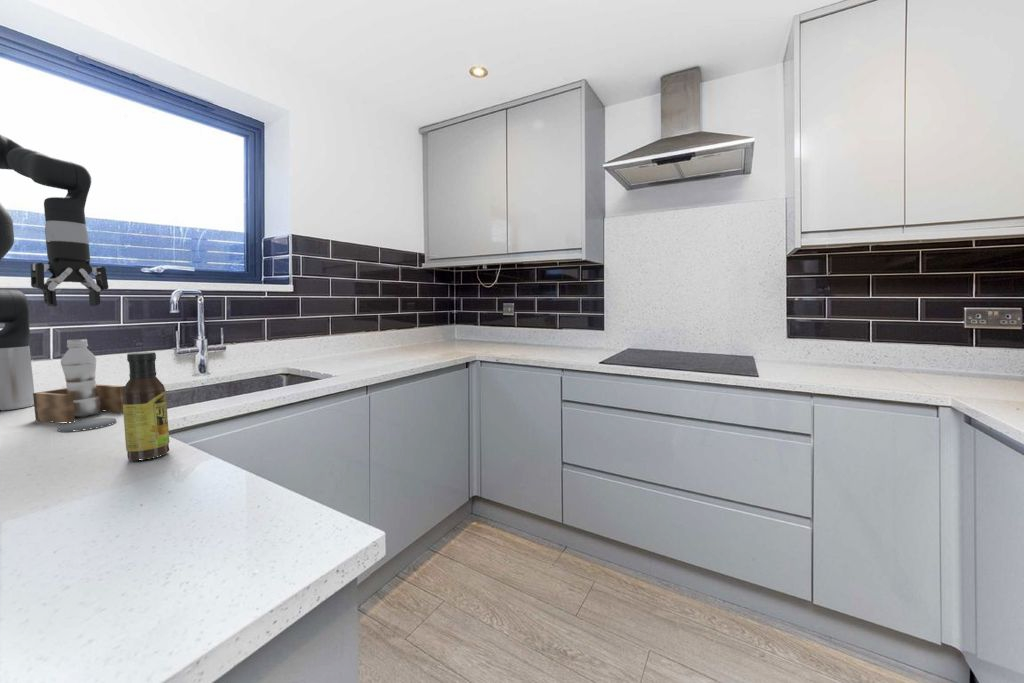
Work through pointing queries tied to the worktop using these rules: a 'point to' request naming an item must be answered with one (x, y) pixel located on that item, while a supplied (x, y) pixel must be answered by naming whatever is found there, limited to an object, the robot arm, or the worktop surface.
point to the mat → (86, 424)
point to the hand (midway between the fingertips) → (73, 306)
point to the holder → (61, 404)
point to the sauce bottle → (145, 409)
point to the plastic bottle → (81, 377)
